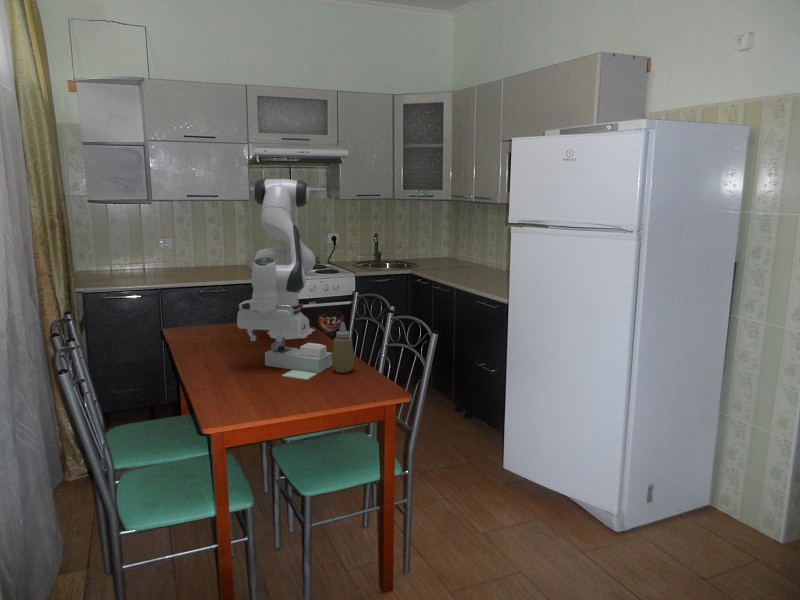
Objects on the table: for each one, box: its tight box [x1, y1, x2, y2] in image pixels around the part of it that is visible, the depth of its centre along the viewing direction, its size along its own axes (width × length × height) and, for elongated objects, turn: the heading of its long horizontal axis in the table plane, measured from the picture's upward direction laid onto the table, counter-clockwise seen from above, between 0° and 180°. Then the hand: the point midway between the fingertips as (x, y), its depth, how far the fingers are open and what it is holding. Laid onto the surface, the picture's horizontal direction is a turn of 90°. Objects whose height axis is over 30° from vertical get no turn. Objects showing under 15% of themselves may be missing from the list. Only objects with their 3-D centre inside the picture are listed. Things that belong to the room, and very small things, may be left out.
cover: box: [299, 342, 327, 357], centre depth 222 cm, size 5×8×4 cm, turn 69°
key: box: [270, 337, 286, 350], centre depth 223 cm, size 2×10×4 cm, turn 171°
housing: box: [264, 346, 333, 374], centre depth 225 cm, size 10×22×5 cm, turn 69°
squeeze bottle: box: [331, 321, 355, 374], centre depth 218 cm, size 8×8×18 cm
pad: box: [281, 369, 318, 381], centre depth 214 cm, size 7×10×1 cm
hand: (266, 341), depth 220 cm, fingers open, 8 cm apart
